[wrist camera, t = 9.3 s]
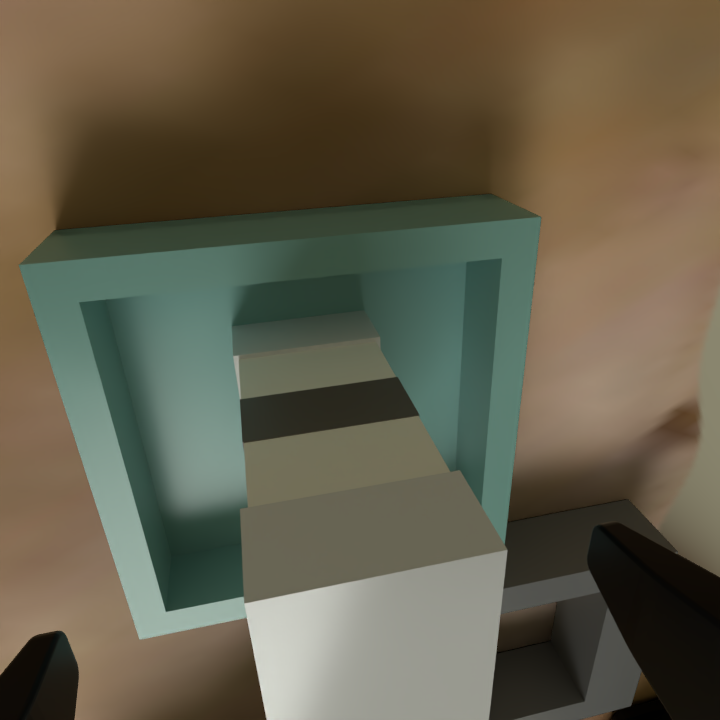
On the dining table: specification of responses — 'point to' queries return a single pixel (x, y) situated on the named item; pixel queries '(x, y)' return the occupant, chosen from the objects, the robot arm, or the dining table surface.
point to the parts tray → (218, 376)
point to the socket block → (564, 621)
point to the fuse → (357, 536)
